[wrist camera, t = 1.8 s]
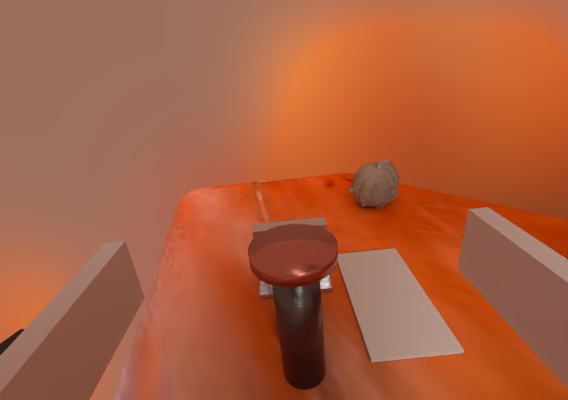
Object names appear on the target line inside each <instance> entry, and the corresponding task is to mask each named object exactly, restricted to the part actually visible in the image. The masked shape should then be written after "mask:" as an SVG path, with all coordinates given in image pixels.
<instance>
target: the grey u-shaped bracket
mask: <svg viewBox="0 0 568 400" xmlns="http://www.w3.org/2000/svg"><path fill="white" fill-rule="evenodd" d="M287 224H309V225H314V226H318V227H321V228H323V229H325V230H327V224H326V221H325V218H324V217H319V218H309V219H299V220H289V221H280V222H270V223H260V224H253V239H254V238H255V237H257V236H258V235H259V234H261V233H262V232H264V231H266V230H269V229H271V228H274V227H277V226H282V225H287ZM320 287H321V293H323V292H333V287H332V283H331V280H330V276H329V275H328V276H327V277H326V278H324V279H322V280H320ZM259 297H260V299H264V298H274V295H273V288H272V285H270V284H267V283H265V282H263V281H261V280H260V290H259Z"/></svg>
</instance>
